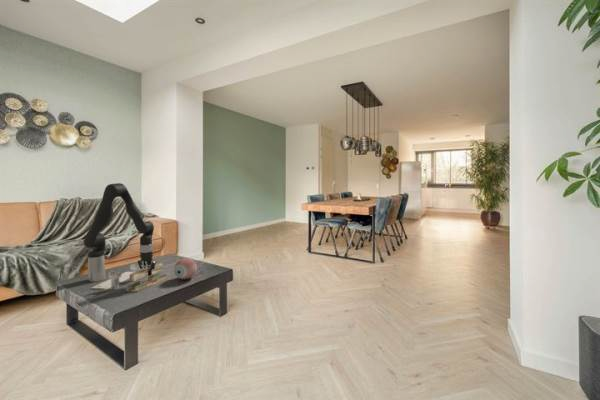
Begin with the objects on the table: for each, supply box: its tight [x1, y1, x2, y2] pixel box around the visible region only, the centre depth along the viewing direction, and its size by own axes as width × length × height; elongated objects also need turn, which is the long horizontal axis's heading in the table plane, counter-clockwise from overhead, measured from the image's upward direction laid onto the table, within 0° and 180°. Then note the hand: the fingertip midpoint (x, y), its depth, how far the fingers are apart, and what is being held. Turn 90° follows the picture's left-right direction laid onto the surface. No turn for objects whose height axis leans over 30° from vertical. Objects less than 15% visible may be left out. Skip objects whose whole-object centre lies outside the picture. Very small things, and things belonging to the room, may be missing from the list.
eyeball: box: [173, 257, 198, 280], centre depth 189 cm, size 15×15×15 cm
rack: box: [125, 272, 168, 293], centre depth 180 cm, size 9×26×3 cm, turn 166°
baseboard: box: [91, 271, 132, 291], centre depth 186 cm, size 31×3×12 cm
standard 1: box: [108, 270, 122, 291], centre depth 172 cm, size 6×4×11 cm, turn 76°
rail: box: [129, 262, 164, 283], centre depth 179 cm, size 4×24×5 cm, turn 166°
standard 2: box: [129, 263, 141, 273], centre depth 187 cm, size 6×4×11 cm, turn 76°
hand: (147, 275), depth 180 cm, fingers closed on rail, 3 cm apart
